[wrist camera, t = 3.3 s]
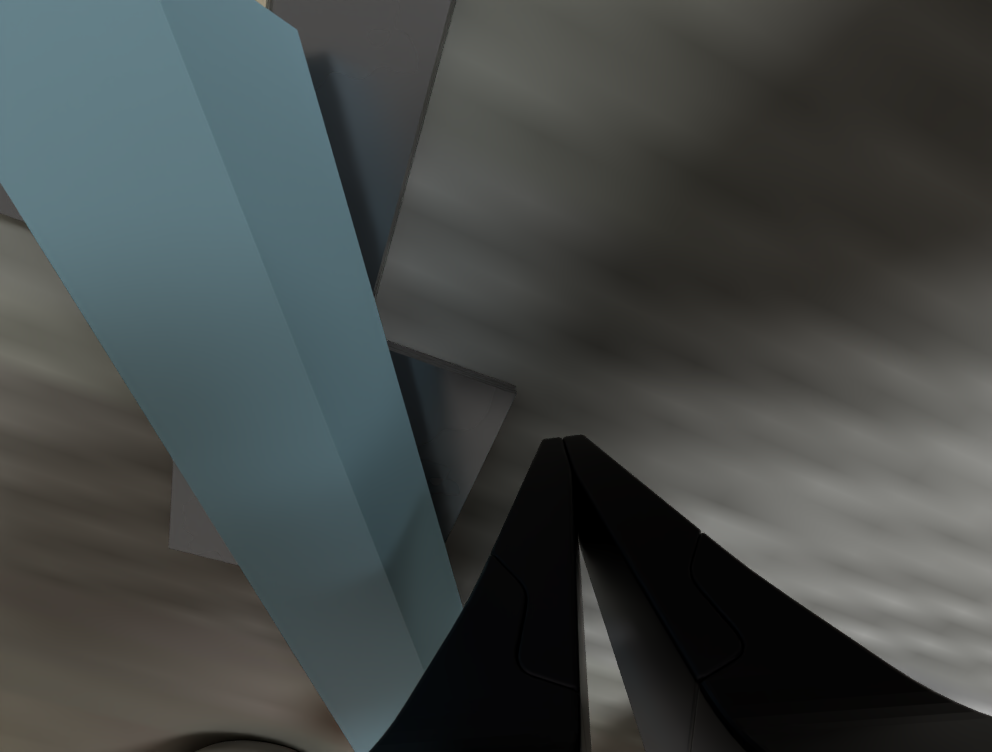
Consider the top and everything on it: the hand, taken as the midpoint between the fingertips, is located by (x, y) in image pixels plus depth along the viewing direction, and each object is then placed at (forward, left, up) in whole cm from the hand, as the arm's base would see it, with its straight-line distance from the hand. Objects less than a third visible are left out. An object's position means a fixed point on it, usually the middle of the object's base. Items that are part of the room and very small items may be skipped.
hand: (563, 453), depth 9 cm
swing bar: (+4, -2, -1) cm, 5 cm away
